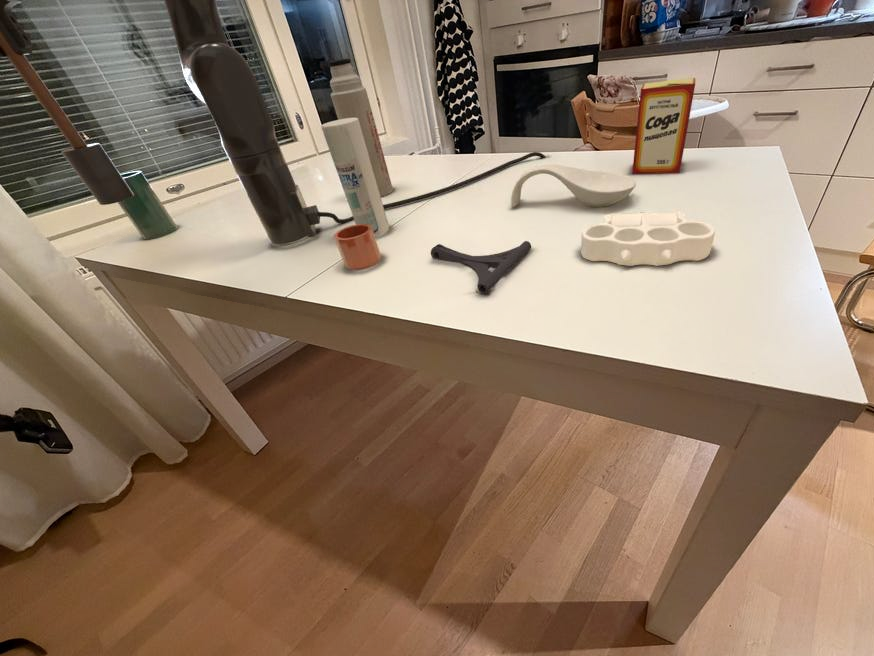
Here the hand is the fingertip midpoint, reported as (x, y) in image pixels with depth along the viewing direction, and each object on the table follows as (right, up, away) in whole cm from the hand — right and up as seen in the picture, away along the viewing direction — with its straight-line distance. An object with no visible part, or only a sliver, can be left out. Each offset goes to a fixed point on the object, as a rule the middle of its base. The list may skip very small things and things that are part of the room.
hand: (15, 55), depth 47 cm
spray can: (+34, -11, +34) cm, 49 cm away
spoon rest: (+74, -5, +32) cm, 81 cm away
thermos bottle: (+29, +7, +56) cm, 63 cm away
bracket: (+55, -21, +17) cm, 61 cm away
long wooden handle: (+2, -13, +11) cm, 17 cm away
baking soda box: (+95, +6, +40) cm, 103 cm away
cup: (-28, -3, +56) cm, 62 cm away
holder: (+35, -19, +23) cm, 46 cm away
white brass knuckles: (+81, -19, +13) cm, 84 cm away
